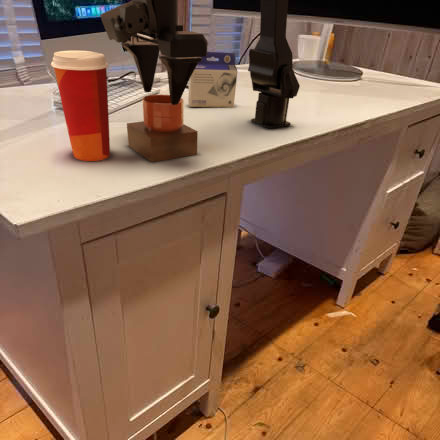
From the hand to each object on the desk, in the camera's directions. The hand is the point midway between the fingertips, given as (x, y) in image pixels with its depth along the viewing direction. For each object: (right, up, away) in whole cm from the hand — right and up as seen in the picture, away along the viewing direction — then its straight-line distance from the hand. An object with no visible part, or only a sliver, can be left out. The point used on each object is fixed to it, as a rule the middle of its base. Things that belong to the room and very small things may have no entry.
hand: (160, 98), depth 69 cm
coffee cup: (-12, -9, +1) cm, 15 cm away
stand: (0, -7, +5) cm, 9 cm away
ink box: (+8, +13, +32) cm, 36 cm away
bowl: (0, -4, +3) cm, 5 cm away
